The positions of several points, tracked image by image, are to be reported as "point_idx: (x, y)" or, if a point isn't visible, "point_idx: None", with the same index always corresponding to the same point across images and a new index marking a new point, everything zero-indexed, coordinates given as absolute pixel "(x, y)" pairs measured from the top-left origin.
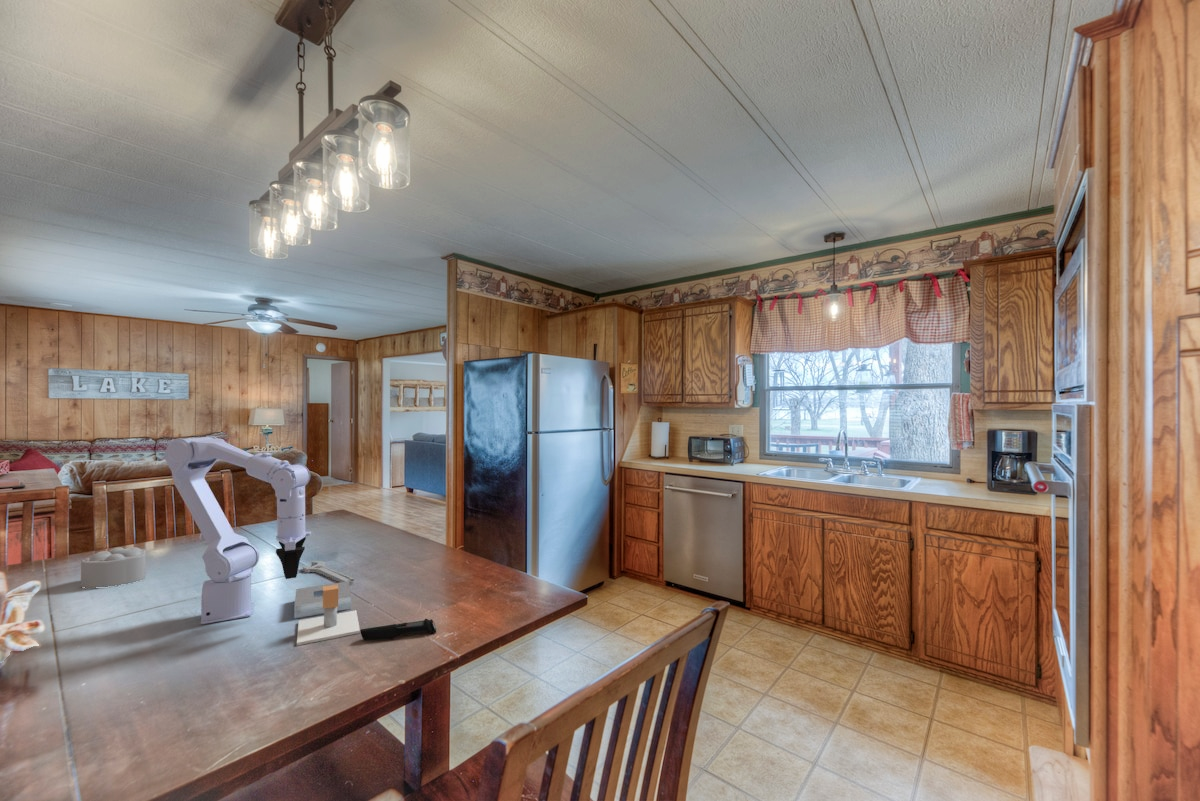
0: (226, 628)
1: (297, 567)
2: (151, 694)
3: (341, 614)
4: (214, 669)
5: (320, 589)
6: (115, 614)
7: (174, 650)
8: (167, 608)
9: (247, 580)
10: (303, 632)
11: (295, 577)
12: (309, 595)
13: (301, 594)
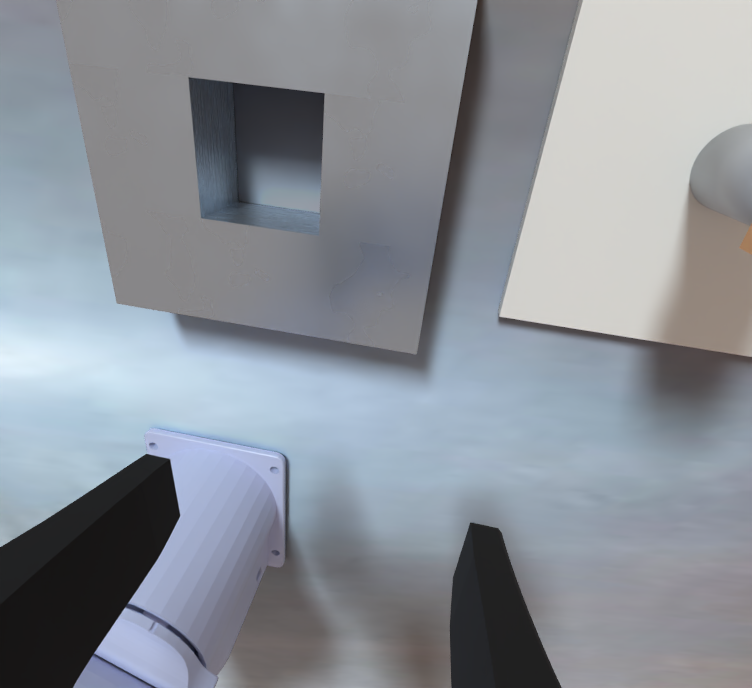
0: (360, 517)
1: (535, 640)
2: (744, 681)
3: (600, 62)
4: (726, 584)
5: (176, 169)
6: None
7: None
8: None
9: (167, 598)
10: (704, 321)
11: (499, 532)
12: (268, 253)
13: (226, 292)
